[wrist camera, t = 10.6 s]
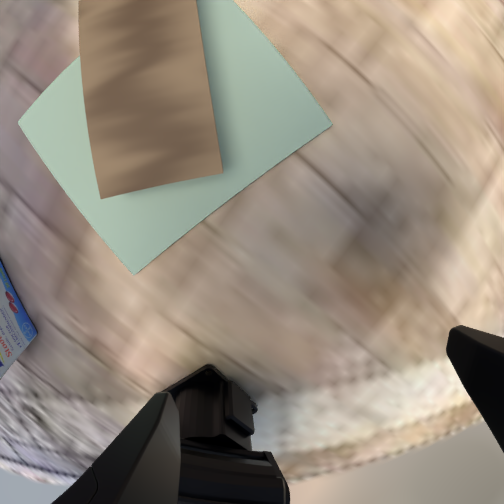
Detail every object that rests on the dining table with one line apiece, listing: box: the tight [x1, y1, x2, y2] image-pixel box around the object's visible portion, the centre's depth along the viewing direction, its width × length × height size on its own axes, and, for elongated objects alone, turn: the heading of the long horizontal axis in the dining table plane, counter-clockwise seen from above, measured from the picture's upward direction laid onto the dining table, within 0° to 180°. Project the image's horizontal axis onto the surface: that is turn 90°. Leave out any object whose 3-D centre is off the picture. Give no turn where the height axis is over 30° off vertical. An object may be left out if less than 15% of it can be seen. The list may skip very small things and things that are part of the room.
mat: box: [18, 0, 333, 275], centre depth 17 cm, size 16×14×1 cm
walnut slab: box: [79, 0, 223, 199], centre depth 15 cm, size 6×4×12 cm
